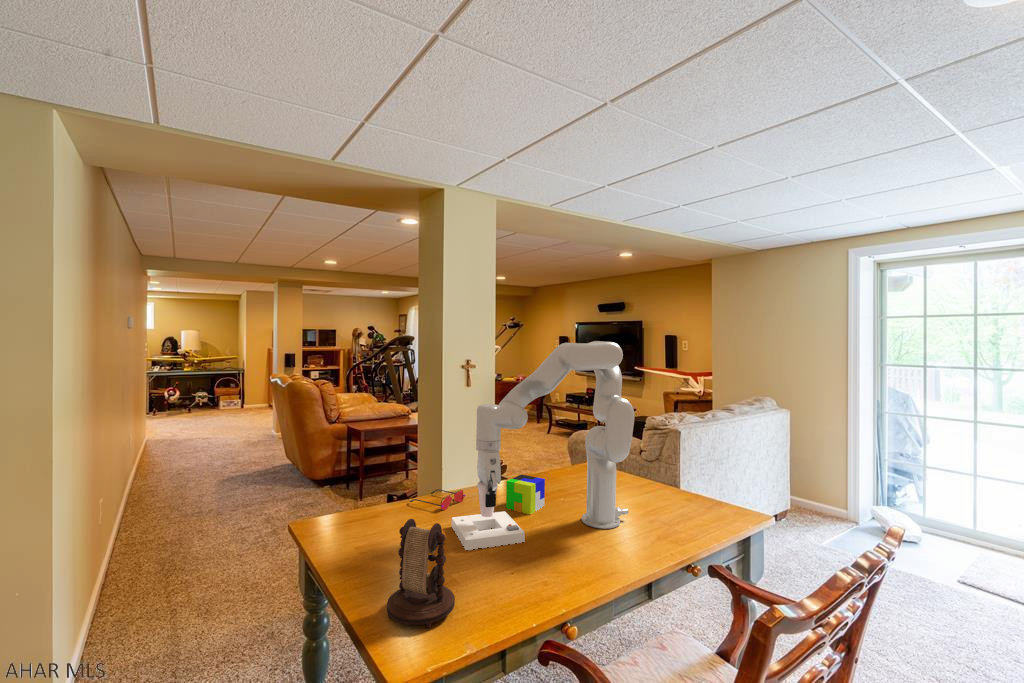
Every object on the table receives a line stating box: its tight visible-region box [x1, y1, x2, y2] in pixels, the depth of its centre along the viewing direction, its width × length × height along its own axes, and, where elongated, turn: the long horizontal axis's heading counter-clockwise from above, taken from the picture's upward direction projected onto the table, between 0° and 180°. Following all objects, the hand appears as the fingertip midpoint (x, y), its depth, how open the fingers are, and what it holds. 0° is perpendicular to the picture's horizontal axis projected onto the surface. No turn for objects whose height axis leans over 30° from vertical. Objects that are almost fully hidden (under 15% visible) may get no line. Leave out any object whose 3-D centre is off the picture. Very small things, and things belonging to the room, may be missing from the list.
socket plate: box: [451, 510, 526, 551], centre depth 148 cm, size 18×18×4 cm
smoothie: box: [476, 481, 498, 517], centre depth 148 cm, size 6×6×14 cm
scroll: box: [386, 518, 456, 629], centre depth 106 cm, size 15×15×20 cm
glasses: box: [409, 489, 466, 511], centre depth 176 cm, size 14×16×5 cm
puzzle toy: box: [505, 474, 546, 515], centre depth 172 cm, size 10×10×10 cm
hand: (487, 502), depth 148 cm, fingers closed on smoothie, 6 cm apart
